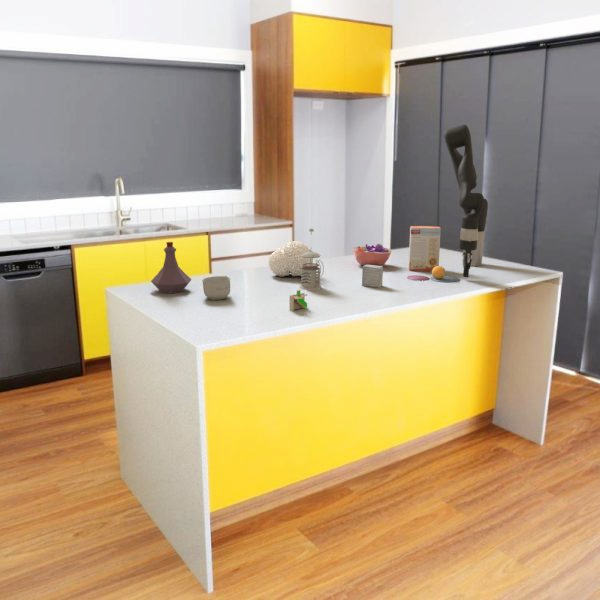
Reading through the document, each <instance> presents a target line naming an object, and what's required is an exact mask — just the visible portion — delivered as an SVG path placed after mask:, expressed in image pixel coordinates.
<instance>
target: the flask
mask: <svg viewBox="0 0 600 600" xmlns="http://www.w3.org/2000/svg"><path fill="white" fill-rule="evenodd" d="M173 245H174V242H173V241H166V247H164V249H163V251H164V253H165V257H164V262H163V266H162V267H161V269H160V270H159V271H158V273H157V274H156V275H155V276H154V277H153V278H152V279H151V280H150V282H151V283H152V285H154V286H155V287H156V289H158V291H160V292H162V293H164V294H177V293H182V292H183V291H184V290H185V288H186V287H188V285H189V284H190V282H191V281H192V278H191V277H190V276H189V275H188V274H187V273H185V271H184V270H183V269H181V268H180V266H179V264H178V261H177V257H176V251H177V248H176V247H174V246H173Z"/></svg>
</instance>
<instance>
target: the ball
mask: <svg viewBox="0 0 600 600" xmlns="http://www.w3.org/2000/svg"><path fill="white" fill-rule="evenodd" d="M431 275H432V277H434V278H436V279H442V278H443V277H444V276H446V270H445V268H444V267H443V266H441V265H439V266H436V267H434V268H433V270H432V271H431Z"/></svg>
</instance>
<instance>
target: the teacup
mask: <svg viewBox="0 0 600 600" xmlns="http://www.w3.org/2000/svg"><path fill="white" fill-rule="evenodd" d="M202 288H203V289H202V290H203V294H204V295H205V297H207V298H208V299H209V300H212V301H217V300H218V301H219V300H224V299H226V298H227V297H228V296H229V295H230V294H231V277H229V276H228V275H216V276H215V275H214V276H208V277H204V278H203V279H202Z"/></svg>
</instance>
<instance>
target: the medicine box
mask: <svg viewBox="0 0 600 600" xmlns="http://www.w3.org/2000/svg"><path fill="white" fill-rule="evenodd" d="M361 273H362V276H361V279H362V280H361V286H362V287H371V288H381V287H382V286H383V274H384V265H381V266H375V265H362V272H361Z"/></svg>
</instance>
